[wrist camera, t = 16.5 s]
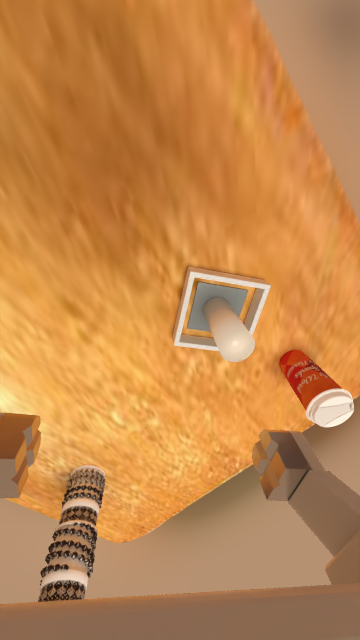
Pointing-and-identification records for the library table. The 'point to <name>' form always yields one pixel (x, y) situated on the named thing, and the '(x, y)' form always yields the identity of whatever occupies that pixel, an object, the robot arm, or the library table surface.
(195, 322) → the corral
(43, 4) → the library table surface
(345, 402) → the paper cup
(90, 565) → the decorative candle
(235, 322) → the white pillar candle
